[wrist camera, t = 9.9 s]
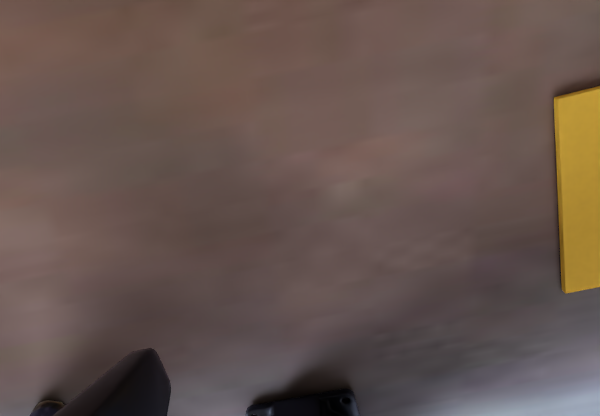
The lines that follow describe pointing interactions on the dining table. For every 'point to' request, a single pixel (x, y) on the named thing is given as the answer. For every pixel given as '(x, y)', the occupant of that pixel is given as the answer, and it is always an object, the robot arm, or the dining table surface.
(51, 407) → the flask
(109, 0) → the dining table surface
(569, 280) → the cloth
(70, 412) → the robot arm
